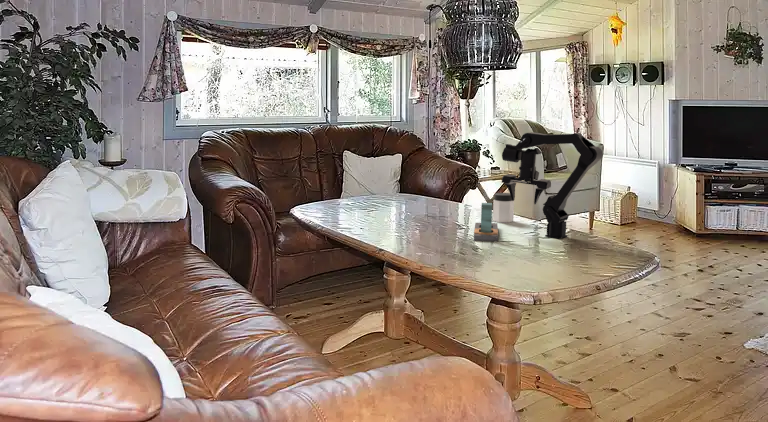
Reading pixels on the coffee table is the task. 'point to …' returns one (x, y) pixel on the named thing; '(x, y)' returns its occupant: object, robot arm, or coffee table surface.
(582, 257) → the coffee table surface
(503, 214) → the jar
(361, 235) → the coffee table surface
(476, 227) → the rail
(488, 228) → the peg
